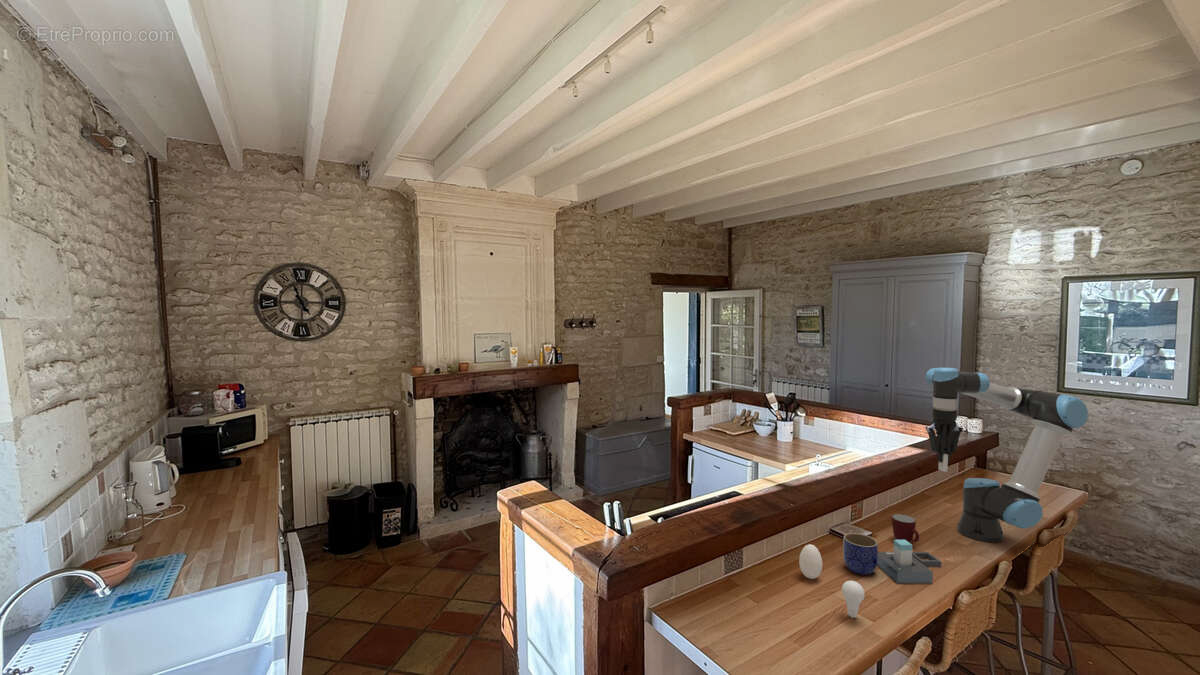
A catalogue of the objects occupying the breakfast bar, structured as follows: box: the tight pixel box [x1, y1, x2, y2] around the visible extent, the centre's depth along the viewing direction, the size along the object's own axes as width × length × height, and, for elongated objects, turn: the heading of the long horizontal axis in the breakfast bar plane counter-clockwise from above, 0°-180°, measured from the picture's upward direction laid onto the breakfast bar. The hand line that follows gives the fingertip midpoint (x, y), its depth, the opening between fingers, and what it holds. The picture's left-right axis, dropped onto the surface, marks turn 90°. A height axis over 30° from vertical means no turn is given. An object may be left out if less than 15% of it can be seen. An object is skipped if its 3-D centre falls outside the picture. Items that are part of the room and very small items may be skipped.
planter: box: [842, 532, 879, 576], centre depth 174 cm, size 11×11×11 cm
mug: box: [891, 513, 920, 544], centre depth 193 cm, size 10×8×10 cm
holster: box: [912, 551, 942, 568], centre depth 179 cm, size 7×7×2 cm
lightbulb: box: [841, 580, 866, 619], centre depth 147 cm, size 6×6×11 cm
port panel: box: [876, 551, 934, 585], centre depth 172 cm, size 12×14×4 cm
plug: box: [893, 539, 913, 566], centre depth 172 cm, size 4×4×11 cm
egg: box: [798, 543, 823, 580], centre depth 169 cm, size 7×7×12 cm
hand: (942, 470), depth 184 cm, fingers closed
